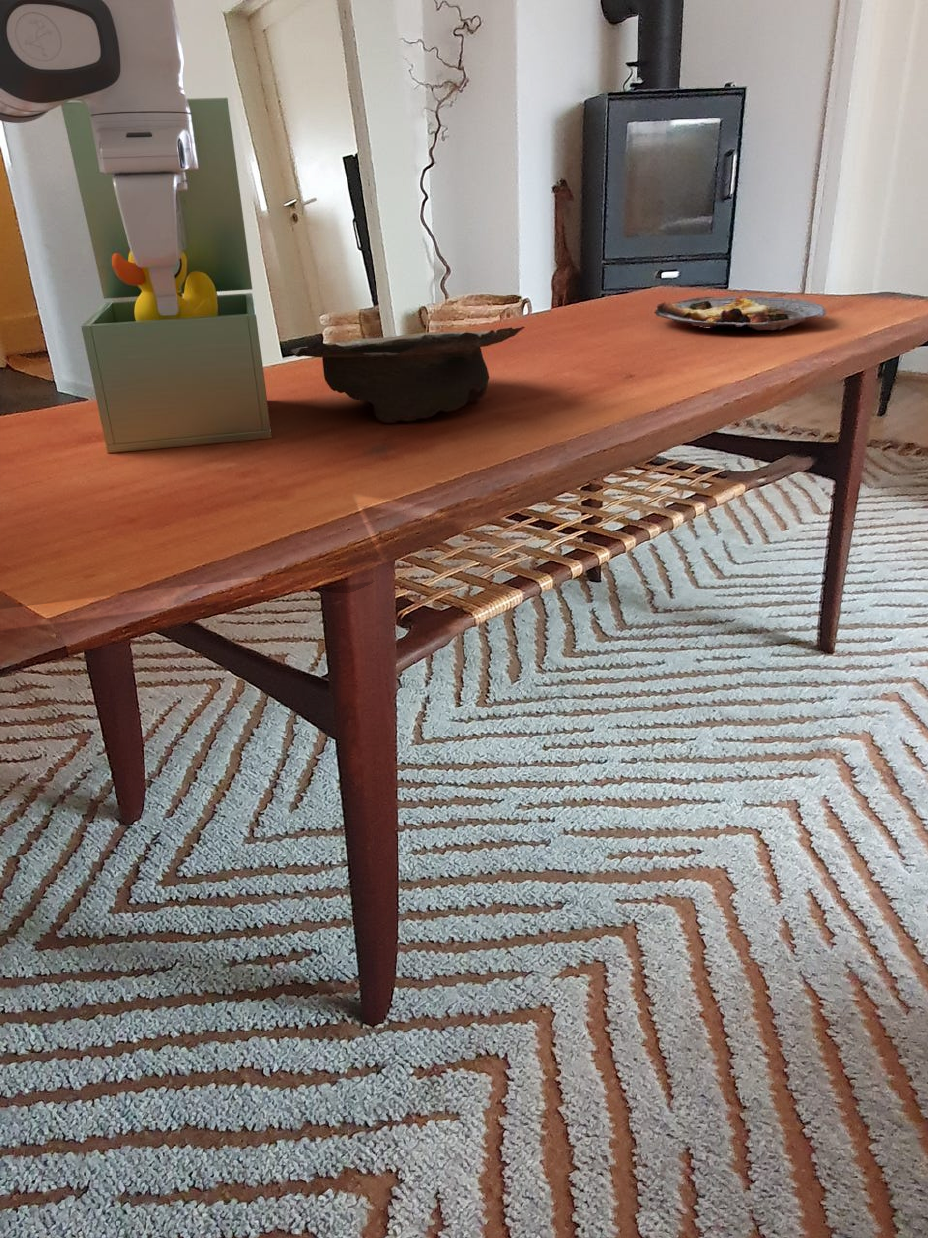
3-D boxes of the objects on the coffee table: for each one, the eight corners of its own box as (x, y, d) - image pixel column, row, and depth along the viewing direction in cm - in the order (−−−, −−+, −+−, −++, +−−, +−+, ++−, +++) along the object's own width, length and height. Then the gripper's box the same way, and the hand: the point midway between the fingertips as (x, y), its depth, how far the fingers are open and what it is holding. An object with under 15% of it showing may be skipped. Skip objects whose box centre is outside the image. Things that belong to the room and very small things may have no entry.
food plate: (719, 342, 130) (721, 316, 128) (625, 322, 149) (626, 299, 147) (855, 324, 139) (858, 300, 137) (750, 307, 158) (752, 285, 156)
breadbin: (271, 438, 92) (255, 314, 87) (107, 453, 90) (81, 325, 84) (266, 399, 108) (252, 292, 103) (126, 411, 105) (104, 302, 100)
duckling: (150, 356, 87) (130, 240, 83) (111, 352, 90) (90, 240, 85) (236, 337, 96) (222, 232, 91) (198, 335, 98) (183, 232, 94)
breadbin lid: (227, 98, 91) (227, 92, 95) (60, 102, 89) (66, 96, 92) (252, 289, 102) (250, 277, 106) (103, 298, 99) (107, 286, 103)
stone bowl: (442, 441, 88) (430, 340, 84) (253, 431, 101) (235, 344, 97) (563, 384, 106) (558, 299, 102) (390, 383, 120) (379, 307, 116)
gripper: (123, 154, 94) (147, 298, 100) (96, 149, 76) (128, 325, 82) (187, 152, 95) (208, 294, 101) (176, 147, 77) (202, 320, 83)
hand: (172, 308), depth 92 cm, fingers closed on duckling, 7 cm apart
